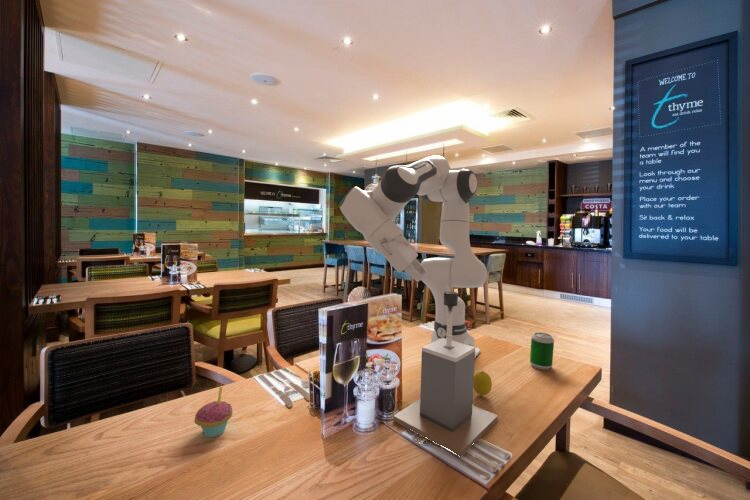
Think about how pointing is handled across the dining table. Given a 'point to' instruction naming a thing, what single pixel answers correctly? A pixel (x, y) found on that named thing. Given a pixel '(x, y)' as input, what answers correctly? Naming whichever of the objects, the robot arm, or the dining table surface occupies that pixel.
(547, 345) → the soda can
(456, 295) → the plunger
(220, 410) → the cupcake
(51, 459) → the dining table surface
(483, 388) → the lemon
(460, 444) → the press
